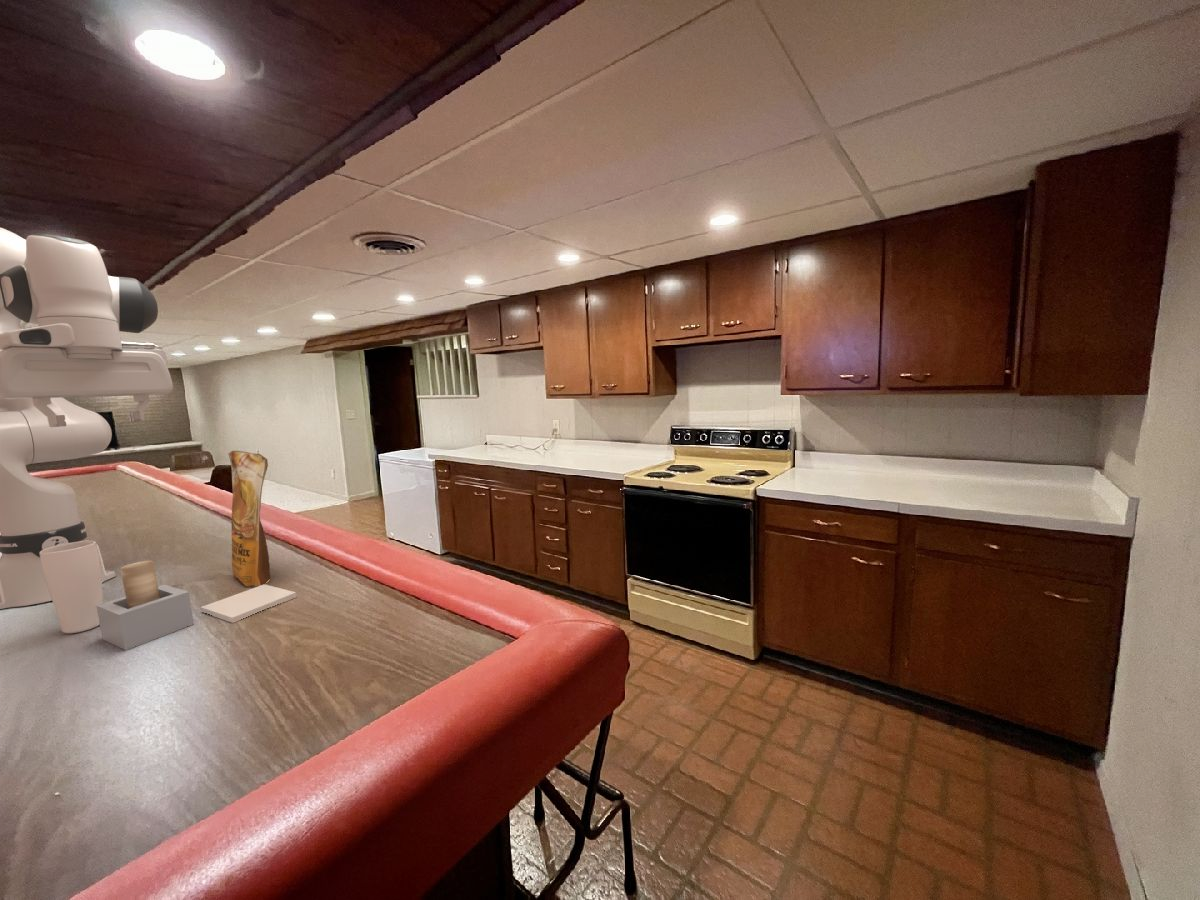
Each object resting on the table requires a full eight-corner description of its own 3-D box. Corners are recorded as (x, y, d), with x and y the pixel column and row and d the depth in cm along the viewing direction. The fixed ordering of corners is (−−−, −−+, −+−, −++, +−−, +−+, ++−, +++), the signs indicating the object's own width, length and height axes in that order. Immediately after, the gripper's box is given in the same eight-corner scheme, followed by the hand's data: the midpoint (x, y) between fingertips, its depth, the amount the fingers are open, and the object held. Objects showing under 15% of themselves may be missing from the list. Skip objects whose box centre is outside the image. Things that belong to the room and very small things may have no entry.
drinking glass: (74, 638, 80) (57, 553, 78) (45, 636, 81) (27, 552, 79) (121, 619, 87) (106, 540, 85) (93, 617, 88) (78, 539, 86)
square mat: (201, 612, 88) (200, 607, 88) (264, 588, 98) (264, 584, 97) (233, 623, 83) (232, 617, 83) (296, 597, 93) (296, 592, 92)
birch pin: (128, 634, 80) (116, 567, 79) (158, 624, 84) (147, 559, 82) (139, 639, 79) (126, 570, 77) (169, 628, 82) (157, 562, 80)
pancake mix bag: (262, 563, 113) (245, 448, 110) (286, 581, 101) (268, 452, 97) (227, 572, 108) (208, 452, 105) (248, 593, 96) (227, 457, 92)
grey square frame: (102, 639, 79) (95, 605, 78) (169, 615, 87) (164, 584, 86) (125, 650, 75) (118, 614, 74) (194, 624, 83) (188, 591, 82)
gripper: (156, 345, 87) (170, 419, 89) (-23, 337, 69) (-2, 430, 71) (172, 341, 84) (186, 418, 86) (-11, 331, 66) (11, 429, 68)
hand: (99, 424), depth 78 cm, fingers open, 8 cm apart
